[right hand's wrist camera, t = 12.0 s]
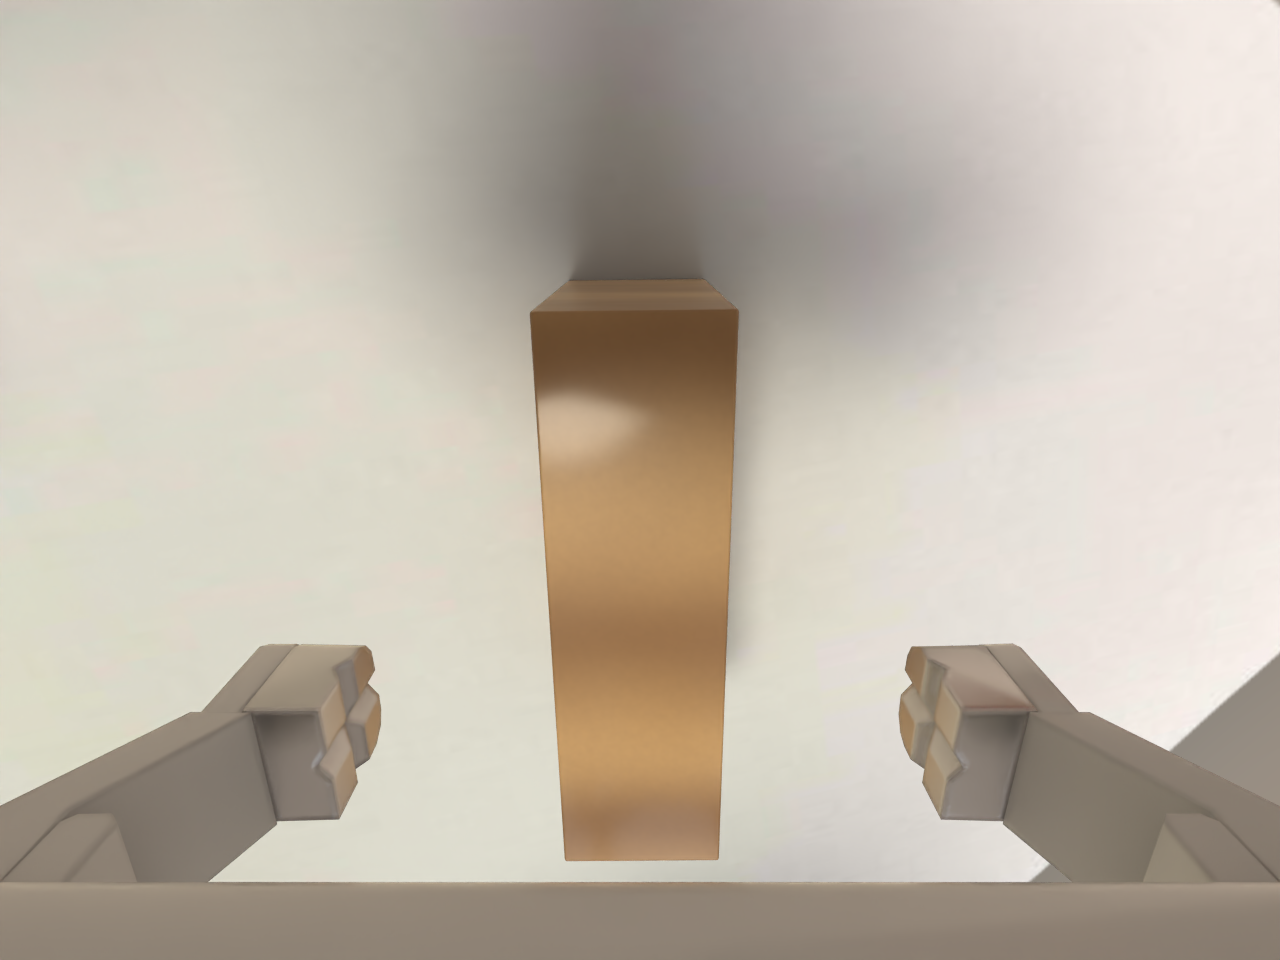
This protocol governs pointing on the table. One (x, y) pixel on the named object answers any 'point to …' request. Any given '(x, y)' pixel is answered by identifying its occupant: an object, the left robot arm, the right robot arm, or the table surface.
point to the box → (637, 557)
